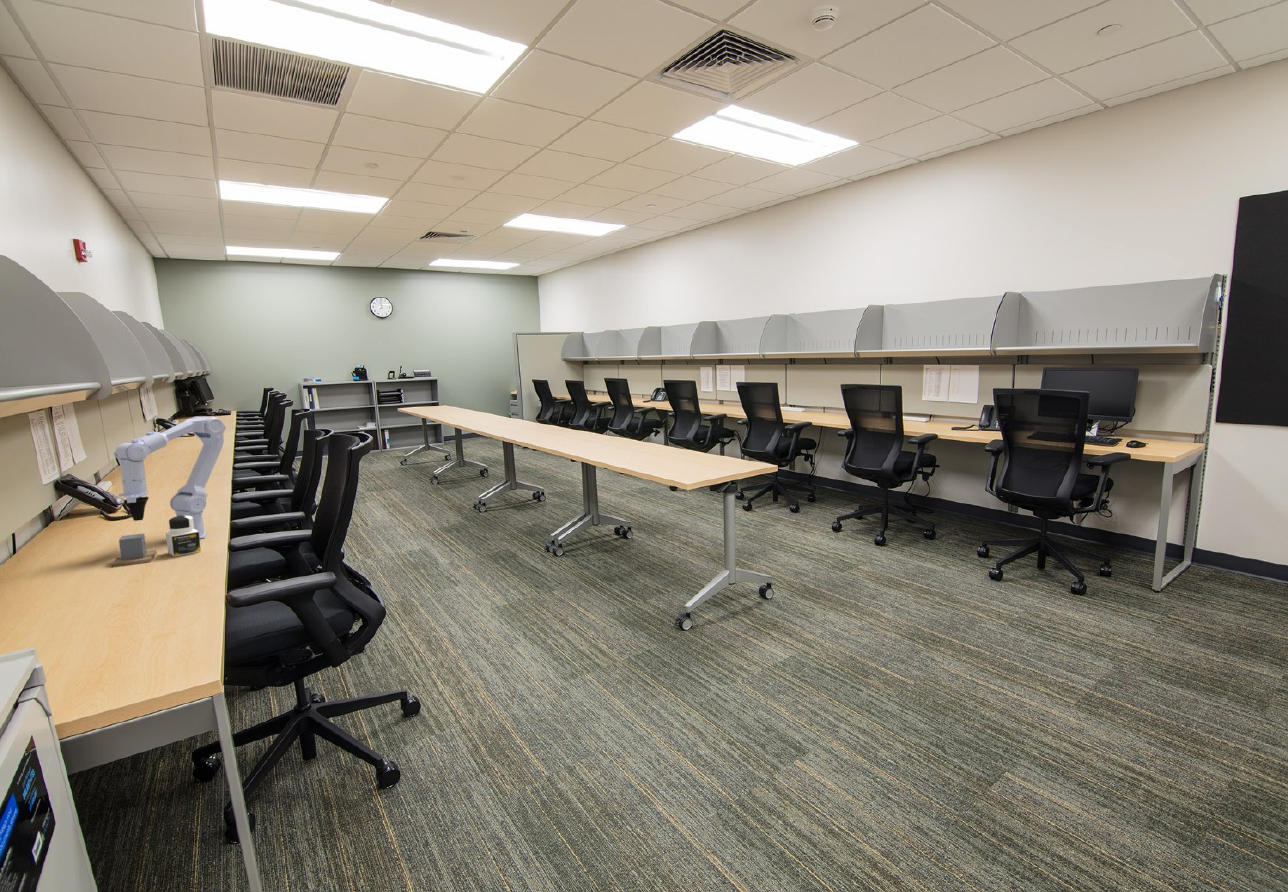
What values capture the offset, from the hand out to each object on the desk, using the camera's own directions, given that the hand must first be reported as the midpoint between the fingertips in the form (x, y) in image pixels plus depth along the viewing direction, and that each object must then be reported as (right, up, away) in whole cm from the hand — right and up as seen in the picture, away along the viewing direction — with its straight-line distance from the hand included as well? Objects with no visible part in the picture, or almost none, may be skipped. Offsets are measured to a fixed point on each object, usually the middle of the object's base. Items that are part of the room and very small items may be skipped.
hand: (138, 520), depth 185 cm
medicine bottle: (+15, -11, 0) cm, 19 cm away
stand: (+6, -12, -8) cm, 15 cm away
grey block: (+6, -11, -8) cm, 14 cm away
